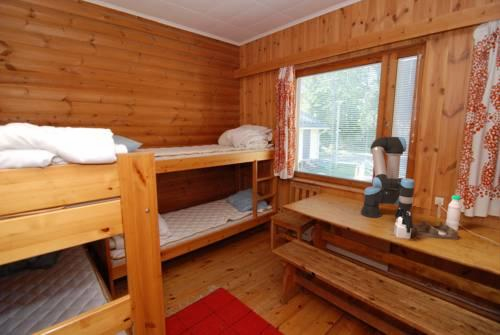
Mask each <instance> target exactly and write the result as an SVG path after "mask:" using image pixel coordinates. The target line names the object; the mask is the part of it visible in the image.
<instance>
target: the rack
mask: <svg viewBox="0 0 500 335" xmlns="http://www.w3.org/2000/svg"><path fill="white" fill-rule="evenodd" d="M437 229H439V230H443V231H445V232H446V235H445V236H441V235H438V232H439V231H438V230H437ZM411 234H413V236H415V237H416V238H421V239H423V238H424V239H438V240H440V239H441V240H455V241H456V240H459V237H458V234H459V230H457V231H456V230H454V229H453V228H451V227H450V226H448V225H447V224H446V222H443V221H439V225H436V224H435V225H433V224H430V223H429V222H427V221H426V220H422V223H421V224H413V228H411Z"/></svg>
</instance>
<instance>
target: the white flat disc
mask: <svg viewBox="0 0 500 335" xmlns="http://www.w3.org/2000/svg"><path fill="white" fill-rule="evenodd" d="M437 230H438V231H439V232H438V235H441V236H445V235H446V232H445V231H443V230H439V229H437Z"/></svg>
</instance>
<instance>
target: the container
mask: <svg viewBox="0 0 500 335" xmlns="http://www.w3.org/2000/svg"><path fill="white" fill-rule="evenodd" d="M405 227H406V223H405V218H404V217H403V216H402V217H398V222H397V223H396V222H394V229H393V234H394V235H395V237H396V238H398V239H405V240H406V239H407V240H408V239H409V240H410V239H411V237H412V236H411V235H412V232H411V229H410V237H405Z"/></svg>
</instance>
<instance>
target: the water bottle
mask: <svg viewBox="0 0 500 335" xmlns="http://www.w3.org/2000/svg"><path fill="white" fill-rule="evenodd" d="M461 198H462V197H461V196H460V195H454V194H453V195H452V196H451V201H450V202H449V203H448V206H447V212H446V219H445V224H447V225H448V226H450V227H451V228H453V229H454V230H456V231H459V225H460V218H461V214H462V211H461V210H462V205H461V202H460V201H461Z"/></svg>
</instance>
